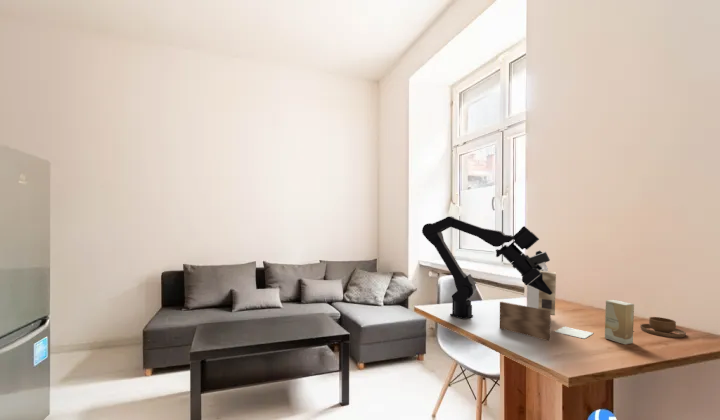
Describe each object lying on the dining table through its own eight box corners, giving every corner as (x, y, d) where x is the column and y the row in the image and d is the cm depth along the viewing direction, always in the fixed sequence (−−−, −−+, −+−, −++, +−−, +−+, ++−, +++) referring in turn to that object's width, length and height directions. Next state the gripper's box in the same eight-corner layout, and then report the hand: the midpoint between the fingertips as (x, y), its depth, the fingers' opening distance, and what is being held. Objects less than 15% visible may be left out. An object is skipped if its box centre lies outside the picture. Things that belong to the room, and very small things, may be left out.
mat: (554, 331, 119) (554, 331, 119) (564, 327, 125) (564, 326, 125) (584, 339, 113) (584, 338, 113) (593, 333, 118) (593, 332, 119)
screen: (499, 328, 122) (499, 302, 122) (501, 327, 123) (501, 301, 123) (548, 340, 110) (548, 311, 110) (550, 340, 111) (550, 311, 111)
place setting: (673, 343, 112) (673, 324, 112) (603, 326, 129) (603, 310, 129) (694, 335, 121) (694, 317, 121) (626, 320, 138) (626, 305, 138)
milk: (543, 318, 136) (543, 261, 136) (526, 315, 140) (526, 259, 140) (547, 315, 140) (548, 259, 141) (531, 312, 144) (531, 258, 145)
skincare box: (604, 338, 114) (604, 300, 114) (612, 336, 115) (612, 299, 116) (625, 345, 108) (625, 304, 108) (634, 343, 109) (634, 303, 110)
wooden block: (538, 313, 122) (539, 272, 123) (538, 310, 127) (539, 270, 127) (554, 315, 120) (555, 273, 120) (554, 312, 124) (555, 272, 125)
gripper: (533, 244, 118) (571, 281, 112) (535, 242, 134) (569, 274, 128) (507, 266, 121) (543, 303, 116) (513, 261, 138) (544, 293, 132)
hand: (551, 292), depth 123 cm, fingers closed on wooden block, 5 cm apart
